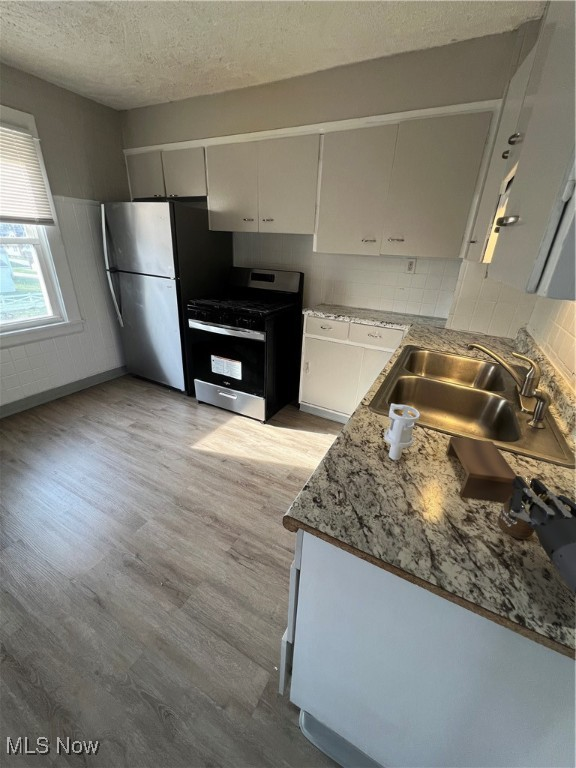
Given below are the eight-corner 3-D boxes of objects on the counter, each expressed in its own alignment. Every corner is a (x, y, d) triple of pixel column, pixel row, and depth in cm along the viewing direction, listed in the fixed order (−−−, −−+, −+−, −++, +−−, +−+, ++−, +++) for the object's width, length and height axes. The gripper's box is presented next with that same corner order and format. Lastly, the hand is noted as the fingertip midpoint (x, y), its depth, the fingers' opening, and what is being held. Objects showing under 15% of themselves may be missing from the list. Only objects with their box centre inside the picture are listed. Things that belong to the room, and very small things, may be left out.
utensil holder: (522, 518, 66) (543, 473, 61) (538, 544, 60) (563, 497, 55) (491, 513, 67) (510, 469, 62) (505, 539, 61) (526, 492, 56)
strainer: (384, 445, 88) (393, 398, 81) (410, 453, 85) (422, 405, 78) (378, 459, 82) (388, 409, 76) (406, 468, 79) (418, 417, 73)
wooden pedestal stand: (484, 463, 82) (492, 441, 79) (508, 503, 70) (519, 479, 67) (443, 458, 83) (450, 436, 80) (460, 497, 71) (469, 472, 68)
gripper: (650, 552, 44) (571, 470, 59) (541, 535, 46) (492, 460, 61) (623, 585, 47) (555, 499, 63) (523, 568, 49) (481, 489, 65)
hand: (524, 480), depth 62 cm, fingers closed on utensil holder, 2 cm apart
